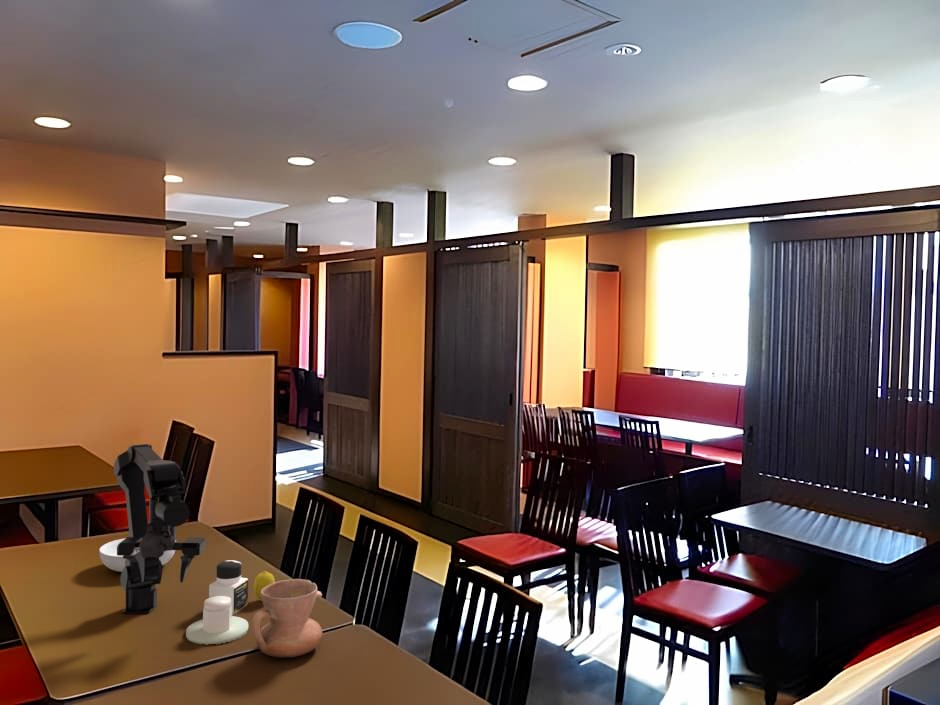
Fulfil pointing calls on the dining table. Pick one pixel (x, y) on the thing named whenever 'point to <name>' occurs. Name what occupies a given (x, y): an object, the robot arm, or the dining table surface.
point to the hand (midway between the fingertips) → (161, 582)
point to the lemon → (262, 582)
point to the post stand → (202, 637)
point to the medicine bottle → (230, 584)
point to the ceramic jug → (287, 619)
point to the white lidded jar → (217, 614)
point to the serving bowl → (118, 562)
